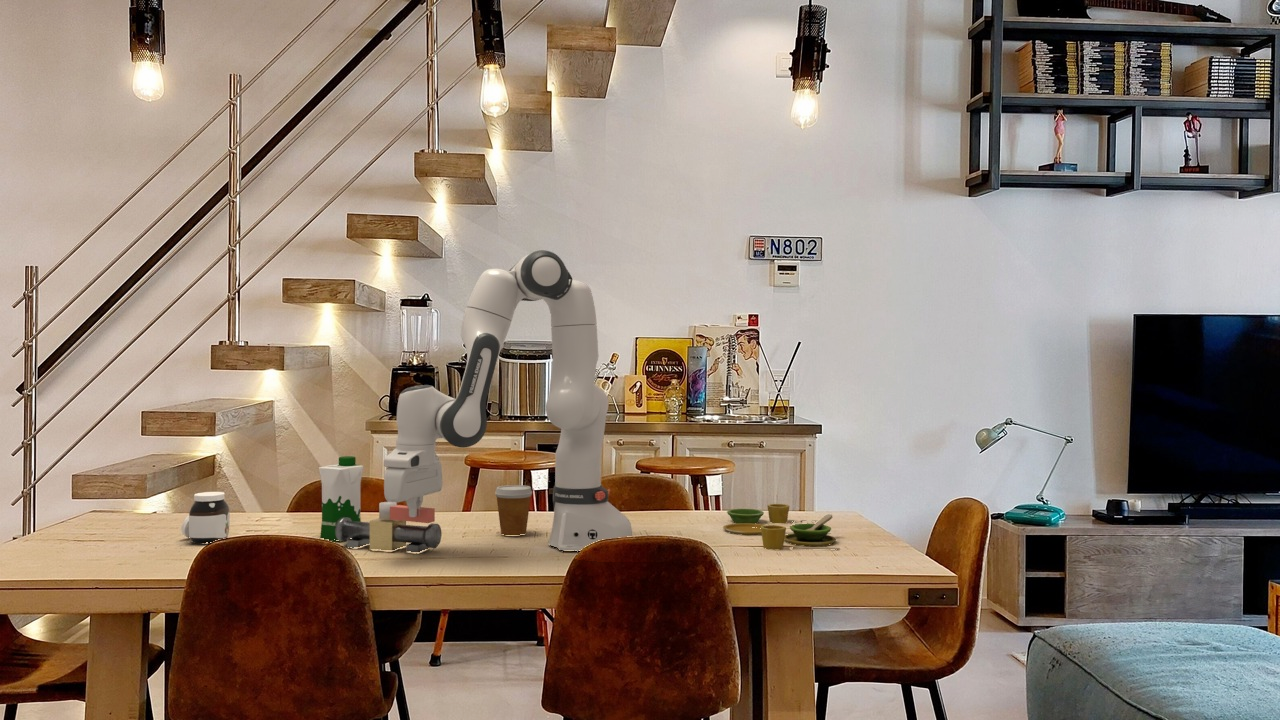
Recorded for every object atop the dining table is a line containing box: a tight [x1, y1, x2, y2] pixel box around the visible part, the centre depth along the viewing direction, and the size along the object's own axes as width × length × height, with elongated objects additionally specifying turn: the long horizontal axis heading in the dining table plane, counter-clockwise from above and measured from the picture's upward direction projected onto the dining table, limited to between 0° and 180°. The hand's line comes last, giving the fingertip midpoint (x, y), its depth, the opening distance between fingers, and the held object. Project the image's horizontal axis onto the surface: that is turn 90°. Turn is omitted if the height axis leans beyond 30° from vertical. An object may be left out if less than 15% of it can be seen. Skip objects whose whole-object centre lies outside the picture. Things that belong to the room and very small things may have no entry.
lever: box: [378, 501, 436, 524], centre depth 222 cm, size 14×4×4 cm, turn 65°
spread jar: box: [180, 491, 231, 544], centre depth 234 cm, size 12×11×12 cm
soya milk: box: [318, 455, 364, 543], centre depth 237 cm, size 9×9×20 cm
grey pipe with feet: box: [335, 517, 442, 552], centre depth 225 cm, size 25×6×7 cm, turn 72°
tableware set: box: [722, 503, 841, 551], centre depth 246 cm, size 41×28×6 cm
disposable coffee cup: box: [494, 484, 533, 535], centre depth 243 cm, size 10×10×12 cm
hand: (414, 516), depth 218 cm, fingers closed
